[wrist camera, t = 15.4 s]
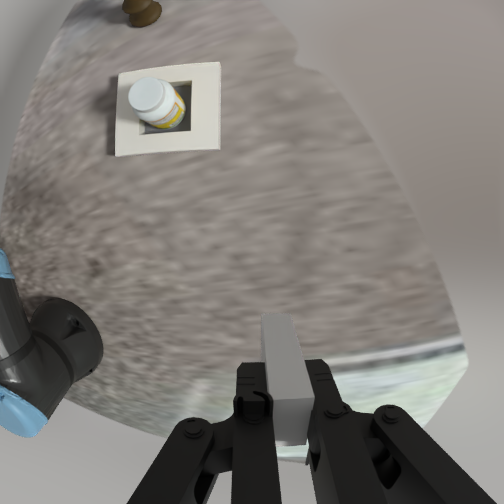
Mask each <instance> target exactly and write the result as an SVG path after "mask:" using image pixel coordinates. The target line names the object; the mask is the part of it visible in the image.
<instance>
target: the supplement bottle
mask: <svg viewBox="0 0 504 504" xmlns="http://www.w3.org/2000/svg"><path fill="white" fill-rule="evenodd" d="M128 99H129V103H130V105H131V106H132V109H133V112H134V113H135V115H136V116H137V117H138V118H140V119H141V120H143V121H145V122H147V123H149V124H151V125H153V126H155V127H157V128H159V129H171V128H173V127H175V126H177V125H178V124H179V123H180V122H181V121H182V119H183V118H184V116H185V112H186V106H185V103H184V101H183V99H182V98H181V97H180V95H179V94H178V93H177V92H176V90H175V89H174V88H173V87H172V86H171V84H169V83H168V82H167V81H165V80H162V79H156V78H153V77H144V78H141V79H139V80H138V81H136V82H135V83H134V84H133V85H132V87H131V88H130V91H129V94H128Z"/></svg>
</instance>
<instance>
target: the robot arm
mask: <svg viewBox="0 0 504 504" xmlns="http://www.w3.org/2000/svg"><path fill="white" fill-rule="evenodd" d="M14 279H15V276H14V275H13V274H12V271H11V268H10V265H9V262H8V258H7V255H6V253H5V252H4V251H3V250H2V249H1V248H0V425H1V426H3V427H4V428H5V429H7V430H9V431H10V432H12V433H14V434H16V435H19V436H22V437H33V436H35V435H37V434H38V432H39V431H40V430H41V428H42V427H43V426H44V425H45V424H47V422H48V420H49V418H50V417H51V415H52V414H53V412H54V411H55V409H56V407H57V406H58V405H59V403H60V401H61V400H62V399H63V397H64V396H65V394H66V393H67V391H68V390H69V388H70V387H71V385H72V384H73V383H75V382H77V381H79V380H80V379H82V378H84V377H85V376H88V375H89V374H91V373H92V372H93V371H94V370H95V369H96V368H97V366H98V365H99V363H100V362H101V360H102V357H103V343H102V339H101V336H100V334H99V332H98V330H97V328H96V326H95V324H94V323H93V321H92V320H91V319H90V318H89V316H88V315H87V314H86V313H85V312H84V311H83V310H81V309H80V308H79V307H77V306H76V305H74V304H73V303H71V302H69V301H66V300H63V299H50V300H48V301H46V302H44V303H43V304H42V305H40V306H39V307H38V308H37V309H36V310H35V312H34V314H33V316H32V319H31V321H30V323H29V322H28V320H27V317H26V314H25V311H24V308H23V305H22V302H21V299H20V296H19V293H18V290H17V287H16V283H15V280H14ZM233 407H234V413H233V415H232V416H231V417H230V418H228V419H226V420H225V421H222V422H218V423H213V424H210V423H209V422H208V421H207V420H204V419H202V418H195V417H192V418H186V419H184V420H182V421H180V422H179V423H178V424H177V425H176V426H175V428H174V429H173V431H172V433H171V434H170V436H169V437H168V439H167V441H166V442H165V444H164V446H163V447H162V449H161V450H160V452H159V454H158V455H157V457H156V458H155V460H154V461H153V463H152V465H151V466H150V468H149V469H148V471H147V473H146V474H145V476H144V477H143V479H142V481H141V482H140V484H139V485H138V487H137V488H136V490H135V491H134V493H133V495H132V496H131V498H130V499H129V501H128V503H127V504H206V503H207V501H208V499H209V496H210V494H211V492H212V489H213V487H214V484H215V482H216V480H217V477H218V475H219V473H223V472H227V471H232V492H231V504H282V502H281V491H280V482H279V472H278V463H277V453H276V447H282V446H297V445H306V442H307V438H308V443H309V449H308V453H307V458H306V464H305V465H308V464H310V469H311V474H312V480H313V485H314V490H315V496H316V501H317V504H497V503H496V502H495V501H494V500H493V499H492V498H491V497H490V496H488V494H487V493H486V492H485V491H484V490H483V489H482V488H481V487H480V486H479V485H478V484H477V483H476V482H475V481H474V480H473V479H472V478H471V477H470V476H469V475H468V474H467V473H466V472H465V471H464V470H463V469H462V468H461V467H460V466H459V465H458V464H457V463H456V462H455V461H454V460H453V459H452V458H451V457H450V456H449V455H448V454H447V453H446V452H445V451H444V450H443V449H442V448H441V447H440V446H439V445H438V444H437V443H436V442H435V441H434V440H433V439H432V438H431V437H430V436H429V435H428V434H427V433H426V432H425V431H424V430H423V429H422V428H421V427H420V426H419V425H418V424H417V423H416V422H415V421H414V420H413V418H412V417H411V416H410V415H409V414H408V413H407V412H406V411H405V410H403V409H402V408H400V407H398V406H395V405H383V406H380V407H379V408H377V409H376V411H375V412H374V414H371V413H360V412H356V411H353V410H352V409H351V408H350V406H349V405H348V404H346V403H344V402H343V401H342V399H341V397H340V394H339V391H338V389H337V386H336V384H335V381H334V380H333V376H332V374H331V371H330V368H329V366H328V365H327V364H326V363H325V362H324V361H323V360H322V359H314V360H304V358H303V355H302V351H301V348H300V344H299V341H298V337H297V334H296V331H295V327H294V324H293V320H292V317H291V314H290V313H269V314H262V316H261V362H251V363H241V365H240V366H239V367H238V369H237V382H236V396H235V397H234V400H233Z"/></svg>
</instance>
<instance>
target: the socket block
mask: <svg viewBox="0 0 504 504" xmlns="http://www.w3.org/2000/svg"><path fill="white" fill-rule="evenodd" d="M144 77H153V78H156V79H162V80H165V81H167V82H168V83H169V84H171V86H172V87H173V88H174V89H175V90H176V92H177V93H178V94H179V95H180V97H181V98H182V99H183V101H184V103H185V106H186V112H185V116H184V118H183V119H182V121H181V122H180V123H179V124H178V125H177V126H175V127H173V128H171V129H159V128H157V127H155V126H153V125H151V124H149V123H147V122H145V121H143V120H141V119H140V118H138V117H137V116H136V115H135V113H134V112H133V109H132V106H131V105H130V103H129V99H128V94H129V91H130V88H131V87H132V85H133V84H134V83H135V82H136V81H138V80H139V79H141V78H144ZM220 106H221V65H220V62H207V63H193V64H182V65H172V66H164V67H156V68H149V69H143V70H137V71H131V72H125V73H120V74H119V78H118V90H117V106H116V131H115V156H117V157H127V156H137V155H148V154H161V153H176V152H194V151H220Z"/></svg>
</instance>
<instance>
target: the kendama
mask: <svg viewBox="0 0 504 504" xmlns="http://www.w3.org/2000/svg"><path fill="white" fill-rule="evenodd" d="M122 9H123V11H124V12H125V13H128V14H130V22H131V24H132V25H133V26H136V27H144V26H147V25H150V24H152V23H154V22H155V21H157V19H158V18H159V17H160V15H161V12H162V8H161V5H160V4H159V3H158V2H155V1H153V0H124V2H123V5H122Z"/></svg>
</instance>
